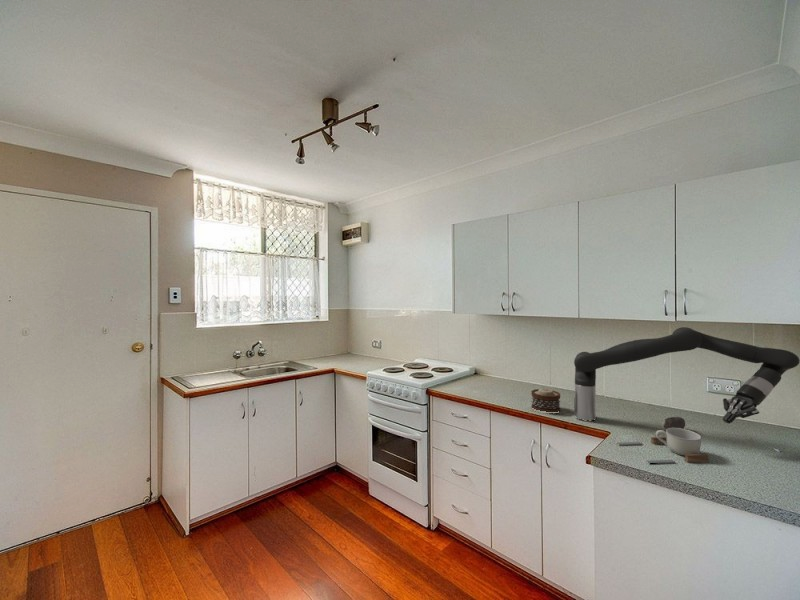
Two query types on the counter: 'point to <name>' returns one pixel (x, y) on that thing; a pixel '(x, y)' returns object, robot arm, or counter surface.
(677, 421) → the perforated stone tool
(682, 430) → the teacup
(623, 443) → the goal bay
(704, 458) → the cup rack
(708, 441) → the counter surface
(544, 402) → the chocolate cake
